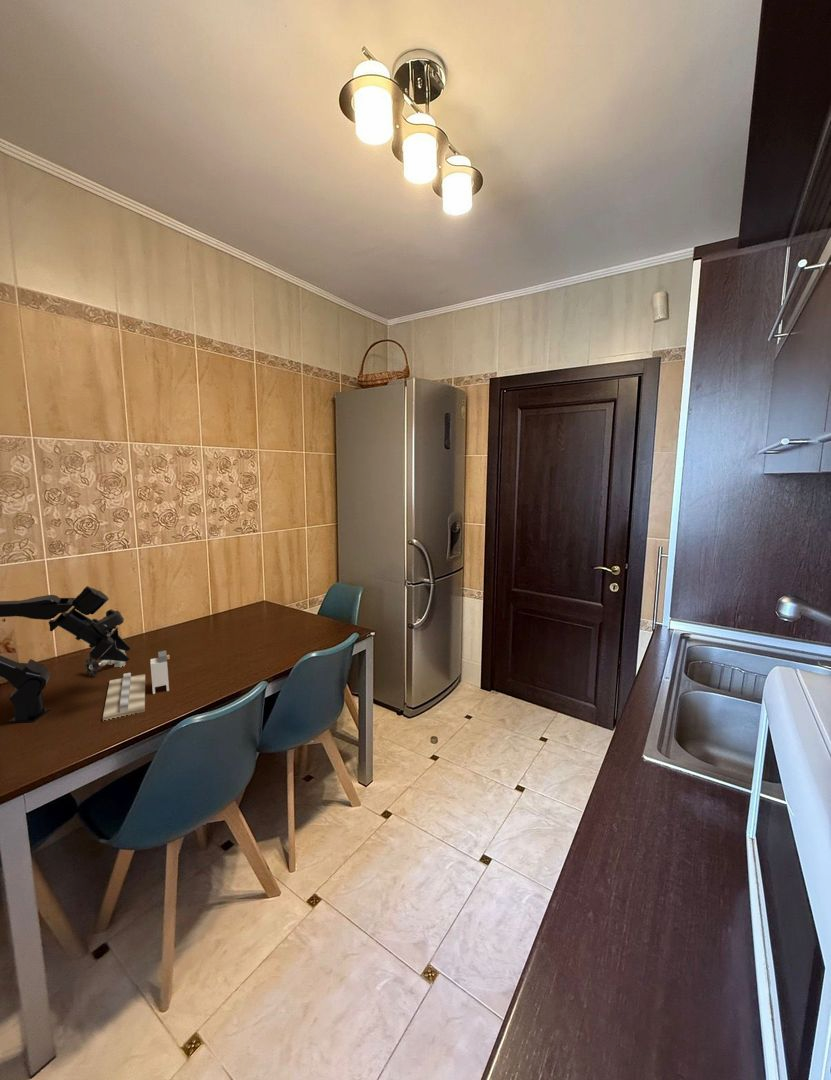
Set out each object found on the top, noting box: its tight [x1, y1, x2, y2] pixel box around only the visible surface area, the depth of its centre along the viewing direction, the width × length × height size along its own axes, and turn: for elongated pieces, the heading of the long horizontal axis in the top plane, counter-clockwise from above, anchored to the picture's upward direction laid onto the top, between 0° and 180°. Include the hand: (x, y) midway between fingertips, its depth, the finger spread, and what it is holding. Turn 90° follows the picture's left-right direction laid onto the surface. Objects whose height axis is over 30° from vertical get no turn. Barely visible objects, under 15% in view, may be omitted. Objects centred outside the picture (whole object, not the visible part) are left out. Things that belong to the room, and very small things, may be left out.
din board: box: [102, 672, 146, 722], centre depth 137 cm, size 26×10×3 cm, turn 31°
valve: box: [83, 649, 127, 677], centre depth 155 cm, size 7×7×12 cm
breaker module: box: [150, 650, 170, 695], centre depth 141 cm, size 4×5×12 cm
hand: (128, 654), depth 136 cm, fingers open, 9 cm apart
